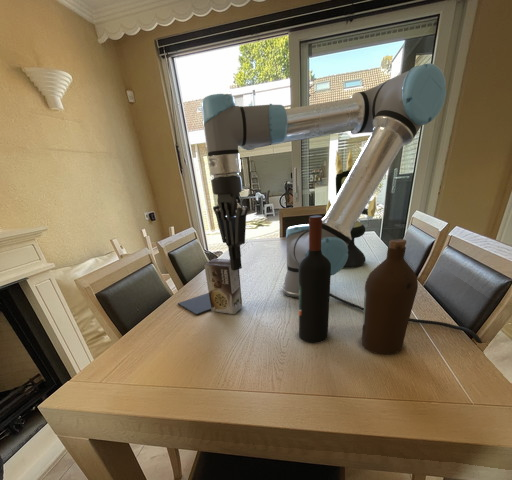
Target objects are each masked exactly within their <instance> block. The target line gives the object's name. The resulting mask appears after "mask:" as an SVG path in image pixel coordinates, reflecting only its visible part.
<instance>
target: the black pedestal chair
mask: <svg viewBox="0 0 512 480" xmlns="http://www.w3.org/2000/svg"><path fill="white" fill-rule="evenodd" d="M353 159H354V158H353V151H352V148H350V150H349V152H348V154H347V159H346V170H345V171H343V163H342V159H341V157H340V155H339V151H336V155H335V163H334V164H335V165H334V166H335V171H336V176H335V191H336V196H337V195H338V193H339V191H340V190H341V188H342V186H343V184H344V182H345V181H346V179H347V177H348V175H349V174H350V172H351V170H352V168H353V163H354V162H353ZM376 197H377V196H374V197H373V198H372V200H371V201H369V204H368V207H365V208H364V210H363V212H362V213H361V215H365V216H368V217H371V218H374V217H375V215H376V210H377V199H376ZM331 206H332V203H331V202H330V200H327V205H326V209H325V210H326V211H325V216H326V215H327V213H328V211H329V209H330V207H331ZM365 232H366V227H365V226H364V224H362V223H361V222H360V221H359V219H358V220H357V222H356V223H355V225H354V227H353V228H352V230H351V233H350V234H351V238H352V240H351V242H350V243H349V245H348V247H347V248H348V259H347V262H346V264H345V265H344V267H343V268H342V269H346V268H347V269H348V268H351V269H352V268H356V267H360V266H363V265H364V263H366V255H365V254H364V253H363V251H362V250H361V249H359V248H358V246H357V245H356V244H355V243H356V242H355V239H357V238H360V237H362V236H364V234H365Z"/></svg>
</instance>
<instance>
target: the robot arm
mask: <svg viewBox="0 0 512 480" xmlns="http://www.w3.org/2000/svg"><path fill="white" fill-rule="evenodd" d="M446 86H447V81H446V77H445V75H444V72H443V71H442V69H441V68H440V67H439V66H438V65H436V64H434V63H423V64H421V65H420V64H419V65H416V66H413V67H412V68H411V69H409V70H407V71H405V72H403V73H401V74H398V75H397V76H394V77H392V78H390V79H388V80H385V81H384V82H382V83H379V84H378V85H375V86H373V87H371V88H369V89H366V90H362V91H357V92H354V93H352V95H351V96H350V97H349V98H344V99H337V100H332V101H326V102H319V103H314V104H309V105H303V106H296V107H291V108H285V106H284V105H283V104H273V103H269V104H259V105H245V106H244V105H243V106H239V105H236V102H235V98H234V96H233V95H232V94H229V93H214V94H209V95H207V96H205V97H204V98H202V101H201V112H202V125H203V131H204V137H205V143H206V151H207V152H206V153H207V157H208V166H209V172H210V175H211V176H213V177H212V178H211V187H212V193H213V195H216V196H217V204H216V205H214V206H213V207H212V209H213V212H214V215H215V218H216V221H217V225H218V230H219V233H220V237H221V241H222V243H223V244H226V246H227V249H228V257H229V260H230V263H231V270H234V271H235V270H238V269H239V270H240V269H243V268H242V267H243V266H242V252H241V246H242V245H244V244H246V229H247V227H246V225H247V215H248V211H249V207H248V206H247V205H245V206H244V205H243V204H242V200H241V197H240V193H241V192H242V191H243V183H242V177H241V175H239V174H240V173H241V171H242V170H241V168H242V167H241V159H240V151H239V147H240V148H241V149H243V150H246V151H252V150H255V149H259V148H264V147H269V146H275V145H279V144H280V145H281V144H285V143H290V142H296V141H301V140H306V139H312V138H319V137H325V136H328V135H330V136H331V135H334V134H340V133H345V132H349V133H350V134H351V135H358V134H368V133H371V134H370V136H369V138H368V140H367V142H366V143H365V145H364V147H363V149H362V151H361V152H360V154H359V156H358V158H357V159H356V161H355V163H354V165H352V170H351V172H350V174H349V175H348V177H347V179H346V181H345V182H344V184H343V186H342V188H341V190H340V191H339V193H338V195H337V194H336V196H335V198H334V201H333V202H332V203H331V205H332V206H331V207H330V209H329V211H328V213H327V215H326V214H325V216H324V217H322V236H321V252H322V254H323V255H324V256H325V257H326V258H327V259H328V260H329V262H330V263H331V276H334V275H336V274H338V273H339V272H340V271H342V269H344V268H343V267H344V265H345V264H346V262H347V259H348V248H347V247H348V245H349V243H350V242H351V240H352V238H351V234H350V233H351V230H352V228H353V227H354V225H355V223H356V222H357V220H358V221H359V219H360V217H361V215H362V214H361V213H362V212H363V210H364V208H367V205H368V203H370V200H371V198H373V195H374V194H375V192H376V190H377V189H378V187H379V185H380V184H381V182H382V180H383V179H384V177H385V175H386V174H387V172H388V170H389V169H390V167H391V166H392V164H393V162H394V160H395V159H396V157H397V156H398V154H399V152H400V151H401V150H402V148H403V147H404V146H405V147H406V146H407V145H409V144H411V143H412V142H413V141H414V139H415V137H416V135H417V134H418V132H419V131H420V129H421V127H422V126H424V125H428V124H429V123H430V122H432V121H433V120H435V119H436V118H437V117H438V115H439V114H440V113H441V111H442V109H443V107H444V104H445V101H446V97H447V89H446ZM285 233H286V234H285V244H286V247H285V248H286V274H285V277H284V282H283V284H282V293H283V294H284V295H286V296H287V297H291V298H297V299H299V264H300V262H301V261H302V259H303V258H305V257H306V256H307V255H308V252H309V223H307V224H306V223H305V224H298V225H292V226H288V227H287V228H286V230H285ZM330 297H331V298H333V299H334V300H336V301H339V302H341V303H343V304H346V305H348V306H350V307H353V308H356V309H359V310H361V311H363V312H364V306H361V305H358V304H356V303H353V302H350V301H348V300H345V299H343V298H341V297H339V296H336V295H334V294H332V293H331V292H330ZM408 323H417V324H425V325H435V326H441V327H446V328H449V329H453V330H458V331H461V332H465V333H467V334H469V335H470V336H471V337H472V338H473V340H474V341H476V343H477V344H483V341H482V339H481V338H480V336H478V335H477V333H475V331H473V330H471V328H470V329H469V328H467V327H464V326H460V325H456V324H451V323H447V322H445V321H444V322H443V321H437V320H430V319H429V320H426V319H418V318H411V317H410V318H409V322H408Z"/></svg>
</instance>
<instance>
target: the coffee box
mask: <svg viewBox="0 0 512 480" xmlns="http://www.w3.org/2000/svg"><path fill="white" fill-rule="evenodd" d="M203 266H204V272H205V278H206V285H207V291H208V293H209V298H210V304H211V310H210V312H211V311H212V312H216V313H217V312H218V313H223V314H229V315H236V313H238V312H239V311H240V310H241V309H242V308H243V299H242V290H241V289H242V287H241V275H240V269H238V270H235V271H234V270H231V263H230V259H227V258H216V257H215V258H214V257H213V259H210V260H209V261H207V262H206V263H204V265H203Z"/></svg>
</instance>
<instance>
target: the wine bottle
mask: <svg viewBox="0 0 512 480" xmlns="http://www.w3.org/2000/svg"><path fill="white" fill-rule="evenodd" d="M322 219H323V215H311V216H309V217H308V224H309V252H308V255H307V256H306V257H305V258H303V259H302V261H301V262H300V264H299V298H298V337H299V339H300V340H301V341H303V342H305V343H309V344H319V343H323V342H325V341H326V340H327V339H328V336H329V315H330V297H331V296H330V293H331V276H332V275H331V263H330V262H329V260H328V259H327V258H326V257H325V256H324V255H323V254H322V252H321V236H322Z"/></svg>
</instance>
